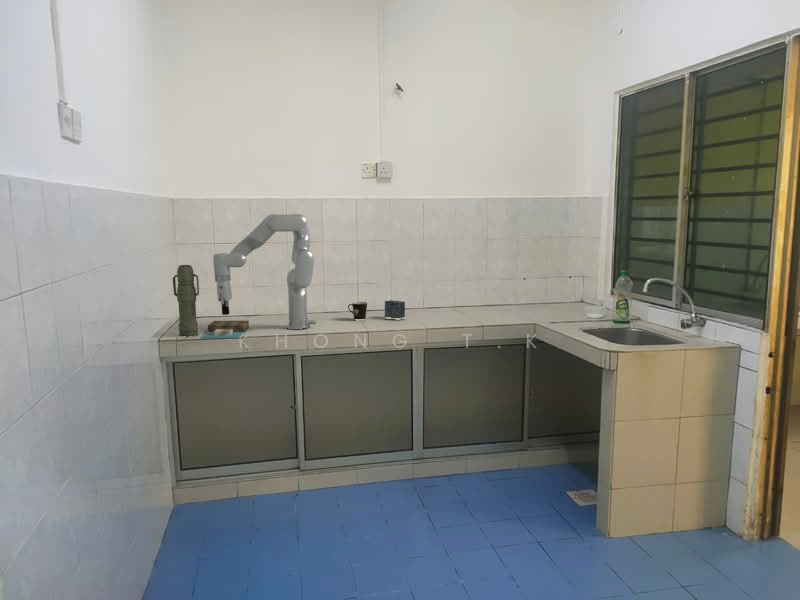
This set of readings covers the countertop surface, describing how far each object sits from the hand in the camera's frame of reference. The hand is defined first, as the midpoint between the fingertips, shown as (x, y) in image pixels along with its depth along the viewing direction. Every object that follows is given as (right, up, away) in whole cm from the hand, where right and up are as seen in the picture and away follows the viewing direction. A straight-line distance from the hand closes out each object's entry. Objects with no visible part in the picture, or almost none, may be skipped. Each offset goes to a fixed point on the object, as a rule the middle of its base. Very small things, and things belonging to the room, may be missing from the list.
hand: (225, 314), depth 284 cm
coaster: (-1, -8, -2) cm, 8 cm away
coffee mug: (+64, -4, +41) cm, 76 cm away
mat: (-1, -11, -2) cm, 11 cm away
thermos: (-18, -11, -1) cm, 21 cm away
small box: (+85, -4, +43) cm, 95 cm away
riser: (-1, -9, +10) cm, 13 cm away
